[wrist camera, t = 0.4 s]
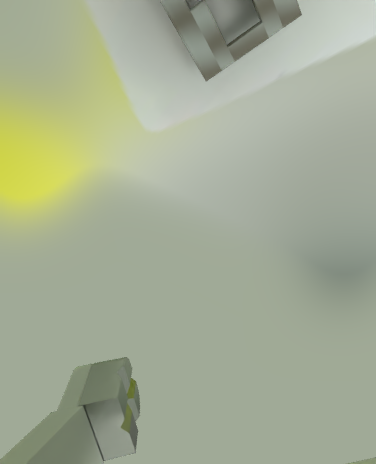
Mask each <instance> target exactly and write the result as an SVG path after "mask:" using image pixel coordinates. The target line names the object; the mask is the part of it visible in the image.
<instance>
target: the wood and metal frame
mask: <svg viewBox="0 0 376 464" xmlns="http://www.w3.org/2000/svg"><path fill="white" fill-rule="evenodd" d="M160 2H161V4H162V5H163V7H164V9H165V11H166V12H167V14H168V16H169V18H170V19H171V21H172V23H173V25H174V26H175V28H176V30H177V32H178V33H179V35H180V37H181V39H182V40H183V42H184V44H185V46H186V47H187V49H188V51H189V53H190V54H191V56H192V58H193V60H194V61H195V63H196V65H197V67H198V68H199V70H200V72H201V74H202V75H203V77H204V79H205V81H208V80H209V79H210V78H212V77H213V76H215V75H216V74H218V73H219V72H220V71H222V70H223V69H225V68H226V67H228V66H229V65H231V64H232V63H233V62H235V61H236V60H238V59H239V58H241V57H242V56H243V55H245V54H246V53H248V52H249V51H251V50H252V49H254V48H255V47H256V46H258V45H259V44H261V43H262V42H264V41H265V40H266V39H268V38H269V37H271V36H272V35H274V34H275V33H277V32H278V31H279V30H281V29H282V28H284V27H285V26H287V25H288V24H289V23H291V22H292V21H294V20H295V19H297V18H298V17H300V16H301V15H302V14H301V11H300V8H299V5H298V2H297V0H252V2H253V4H254V7H255V9H256V12H257V14H258V17H259V19H260V21H259V22H258V23H257V24H255V25H254V26H253V27H251V28H250V29H248V30H247V31H246V32H244V33H243V34H241V35H240V36H239V37H237V38H236V39H234V40H233V41H232V42H230V43H229V44H228V45H226V43H225V41H224V39H223V37H222V35H221V32H220V30H219V28H218V26H217V24H216V22H215V20H214V18H213V16H212V14H211V12H210V10H209V8H208V6H207V4H206V2H205V0H201V1H200V2H199V3H198V4H196V5H195V6H194V7H192V8H191V9H189V7H188V5H187V4H186V2H185V0H160Z"/></svg>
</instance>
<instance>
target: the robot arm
mask: <svg viewBox="0 0 376 464" xmlns="http://www.w3.org/2000/svg"><path fill="white" fill-rule="evenodd" d="M131 373H132V367H131V364H130V361H129V359H128V358H127V357H124V358H119V359H114V360H109V361H103V362H98V363H94V364H88V365H83V366H78V367H76V368H75V369H74V370H73V373H72V375H71V378H70V380H69V382H68V385H67V388H66V390H65V392H64V395H63V397H62V400H61V402H60V405H59V407H58V409H57V411H55V412H51V413H50V414H49V415H48V416H47V417H46V418H45V419H44V420H42V421H41V423H39V424H38V425H37V426H36V427H35V428H34V429H33V430H32V431H31V432H30V433H28V434H27V435H26V436H25V437H24V438H23V439H22V440H21V441H20V442H19V443H18V444H17V445H15V446H14V447H13V448H12V449H11V450H10V451H9V452H8V453H7V454H6V455H5V456H4V457H3V458H1V459H0V464H104V462H103V461H106V460H110V459H114V458H118V457H122V456H126V455H130V454H134V453H136V444H137V435H138V429H137V426H136V422H135V421H136V420H137V419H138V417H139V414H140V398H139V392H138V387H137V384H136V381H135V380H133V379H132V378H131ZM348 464H376V457H375V458H370V459H366V460H361V461H357V462H353V463H348Z"/></svg>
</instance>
